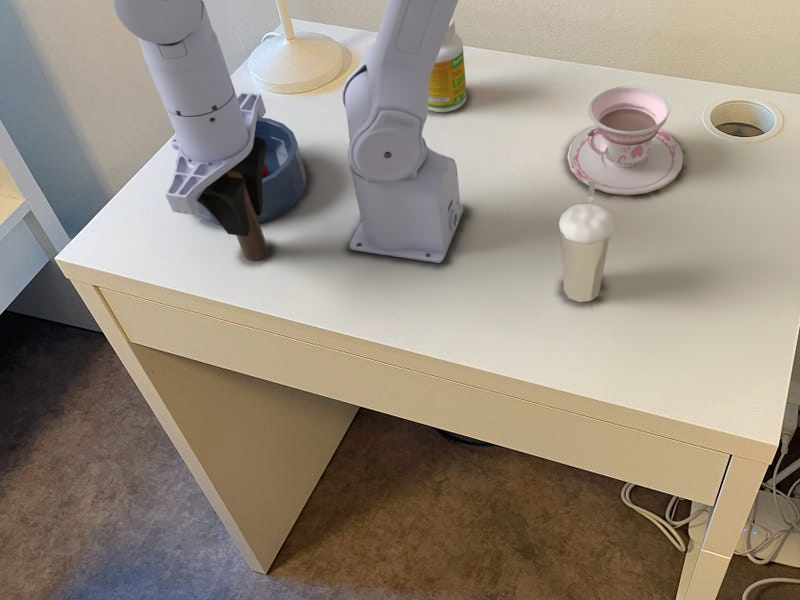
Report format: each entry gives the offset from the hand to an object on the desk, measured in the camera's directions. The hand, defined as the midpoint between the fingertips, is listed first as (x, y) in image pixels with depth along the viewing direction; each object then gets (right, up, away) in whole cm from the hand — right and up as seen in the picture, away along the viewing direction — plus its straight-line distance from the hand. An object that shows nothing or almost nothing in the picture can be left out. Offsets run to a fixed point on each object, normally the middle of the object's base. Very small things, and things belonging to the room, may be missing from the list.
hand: (245, 222), depth 77 cm
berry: (-1, +7, +9) cm, 11 cm away
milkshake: (+32, -6, -2) cm, 32 cm away
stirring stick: (0, -2, +3) cm, 4 cm away
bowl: (-2, +5, +9) cm, 11 cm away
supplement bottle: (+18, +17, +18) cm, 30 cm away
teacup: (+37, +8, +9) cm, 39 cm away
